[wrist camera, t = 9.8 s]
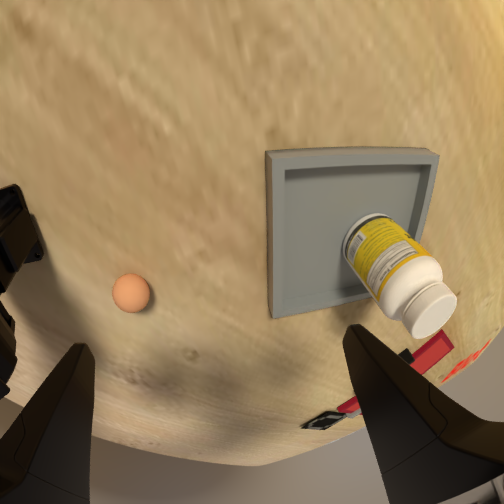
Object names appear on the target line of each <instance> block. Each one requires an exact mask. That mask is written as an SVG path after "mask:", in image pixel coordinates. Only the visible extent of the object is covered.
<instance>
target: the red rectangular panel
mask: <svg viewBox="0 0 504 504" xmlns="http://www.w3.org/2000/svg"><path fill="white" fill-rule="evenodd" d="M453 348H454V346H453V344H452V343H451V341H450V340H449V339H448V337H447V336H446V334H445V333H444V331H443V330H440V331H439V332H438V333H437V334H436V335H435V336H434V337H432V338H431V339H430V340H429V341H428V342H427V343H425V344H424V345H423V346H422V347H421V348H419V349H418V350H417V351H416V352H414V353H413V354H411V353H410V351H409V350H408V349H407V348H406V349H405V350H404V351H402V352H401V353H400V354H399V355H398V356H399V357H401V358H402V359H403V360H404V361H405V362H407V363H408V364H409V365H410V366H411V367H413V368H414V369H415V370H416V371H417V372H419V373H420V374H421V375H422V374H424V373H425V372H426V371H427V370H429V369H430V368H431V367H432V366H434V365H435V364H436V363H437V362H438V361H440V360H441V359H442V358H443V357H444V356H445V355H446V354H448V353H449V352H450V351H451V350H452V349H453ZM337 409H338V411H339V412H342V413H346V414H341V413H333V412H328V413H326V414H324V415H323V416H321V417H319V418H318V419H316V420H314V421H312V422H311V423H309V424H307V425H305V426H304V427H302V429H316V430H325V429H327V428H329V427H331V426H332V425H334V424H336V423H338V422H339V421H341V420H343V419H344V418H346V417H348V418H354V417H355V416H357V415H362V412H361V409H360V406H359V403H358V400H357V397H356V396H355V397H353V398H352V399H350V400H349V401H347V402H346V403H344V404H343V405H341V406H339V407H338V408H337Z"/></svg>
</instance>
